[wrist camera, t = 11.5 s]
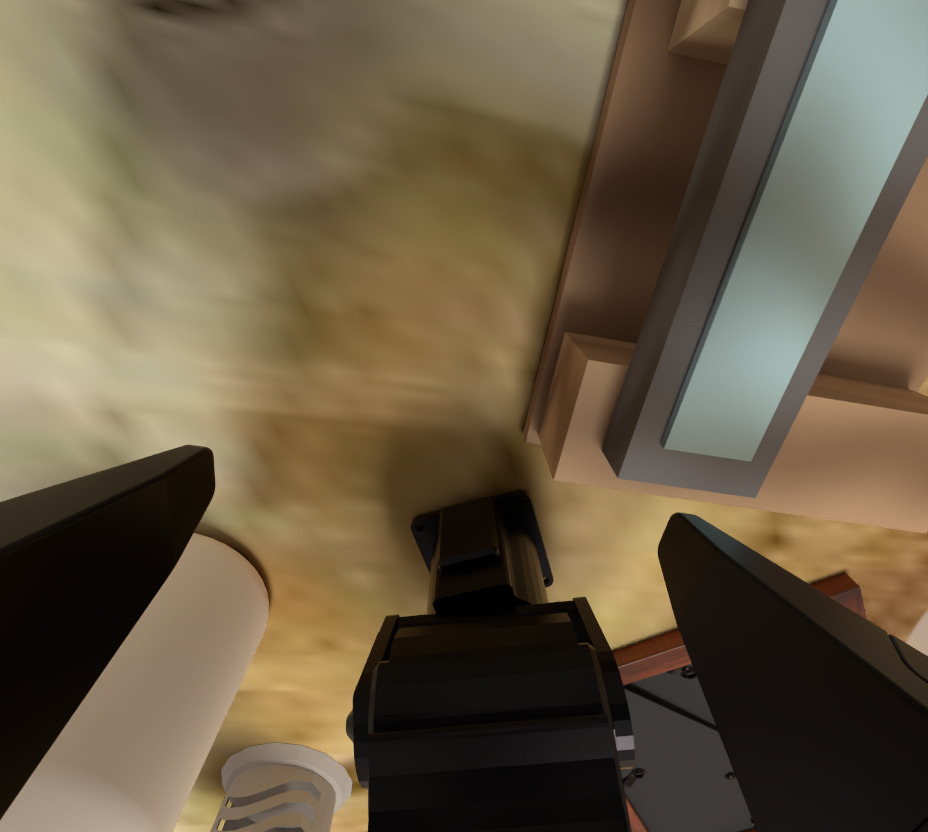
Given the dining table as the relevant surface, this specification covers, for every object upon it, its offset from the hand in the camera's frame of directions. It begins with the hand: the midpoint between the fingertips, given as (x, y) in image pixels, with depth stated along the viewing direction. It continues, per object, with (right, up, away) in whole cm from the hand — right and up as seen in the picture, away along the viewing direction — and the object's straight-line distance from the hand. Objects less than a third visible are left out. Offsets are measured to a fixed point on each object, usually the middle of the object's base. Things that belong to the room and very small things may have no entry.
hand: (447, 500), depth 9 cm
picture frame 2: (+19, -21, +25) cm, 38 cm away
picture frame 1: (+9, +7, +6) cm, 13 cm away
